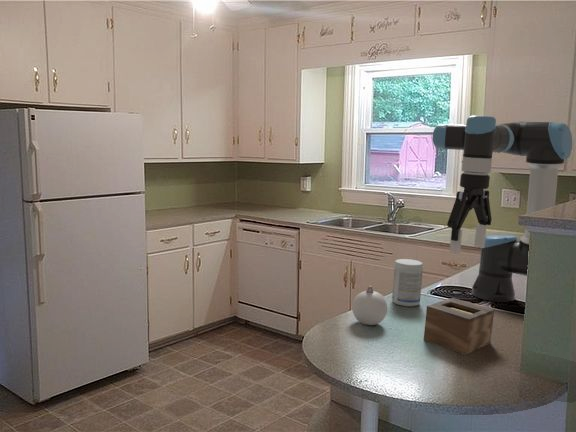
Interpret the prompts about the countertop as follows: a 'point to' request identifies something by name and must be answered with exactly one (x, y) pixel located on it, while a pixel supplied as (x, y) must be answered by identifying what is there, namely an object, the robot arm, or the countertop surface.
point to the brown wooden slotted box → (458, 325)
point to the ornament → (369, 307)
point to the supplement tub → (407, 282)
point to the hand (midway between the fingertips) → (467, 249)
